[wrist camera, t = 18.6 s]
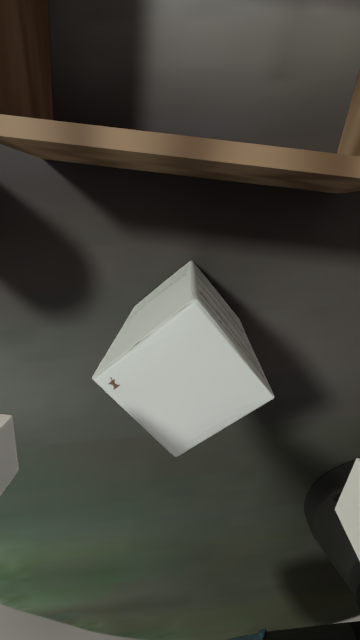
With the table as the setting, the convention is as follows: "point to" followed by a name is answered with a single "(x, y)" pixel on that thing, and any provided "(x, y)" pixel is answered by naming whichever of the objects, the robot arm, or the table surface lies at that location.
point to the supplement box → (183, 363)
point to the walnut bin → (142, 146)
